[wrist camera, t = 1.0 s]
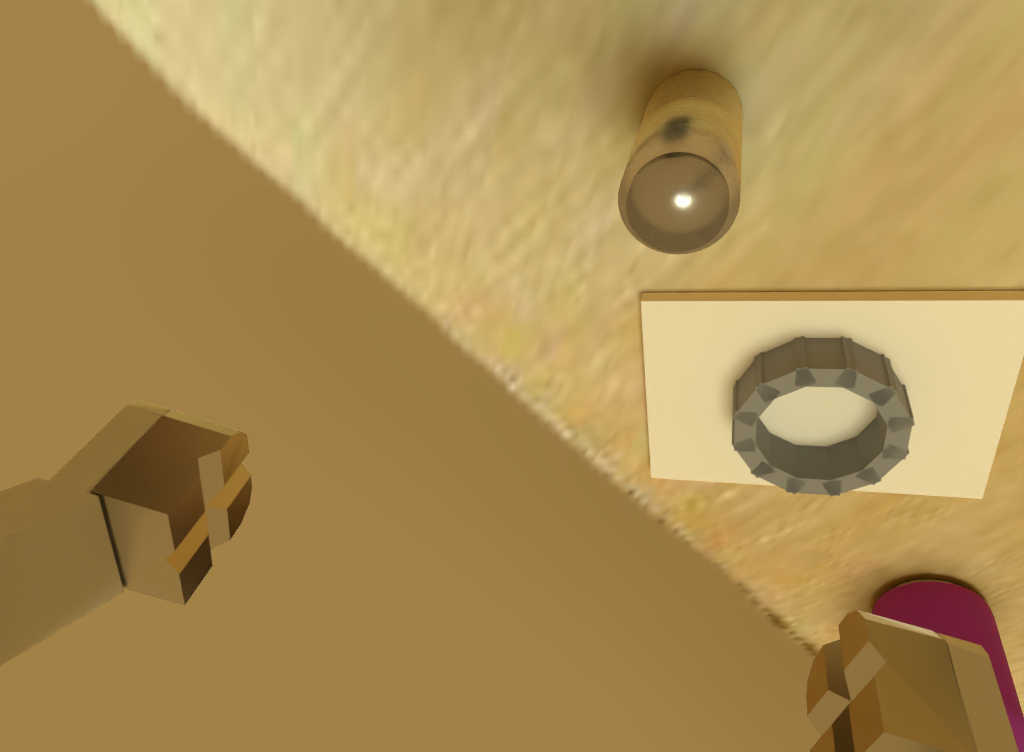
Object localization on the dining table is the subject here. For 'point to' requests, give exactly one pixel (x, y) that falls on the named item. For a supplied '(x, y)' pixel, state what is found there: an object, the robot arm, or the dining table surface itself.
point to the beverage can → (955, 628)
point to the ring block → (831, 388)
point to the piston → (685, 165)
